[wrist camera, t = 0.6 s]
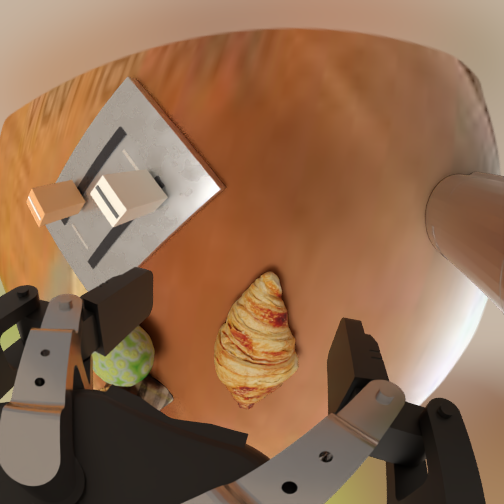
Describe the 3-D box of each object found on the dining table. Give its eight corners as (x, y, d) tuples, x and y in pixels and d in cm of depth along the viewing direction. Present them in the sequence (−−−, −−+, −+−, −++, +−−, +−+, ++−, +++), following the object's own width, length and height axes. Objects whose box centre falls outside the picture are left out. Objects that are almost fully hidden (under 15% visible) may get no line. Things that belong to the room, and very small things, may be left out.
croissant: (253, 252, 33) (202, 266, 27) (328, 281, 27) (285, 307, 21) (237, 378, 40) (199, 402, 34) (289, 411, 34) (253, 444, 28)
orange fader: (72, 179, 29) (30, 188, 23) (85, 201, 30) (43, 214, 23) (65, 192, 30) (25, 202, 24) (78, 213, 31) (38, 227, 24)
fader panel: (136, 79, 26) (126, 76, 24) (226, 187, 28) (219, 189, 26) (48, 212, 35) (39, 215, 33) (106, 301, 37) (98, 307, 35)
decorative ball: (109, 297, 37) (66, 331, 28) (165, 317, 35) (125, 361, 26) (117, 347, 40) (83, 382, 31) (168, 367, 39) (137, 411, 29)
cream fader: (146, 169, 27) (101, 175, 20) (167, 197, 27) (126, 210, 20) (133, 184, 27) (88, 193, 21) (154, 211, 28) (111, 228, 21)
